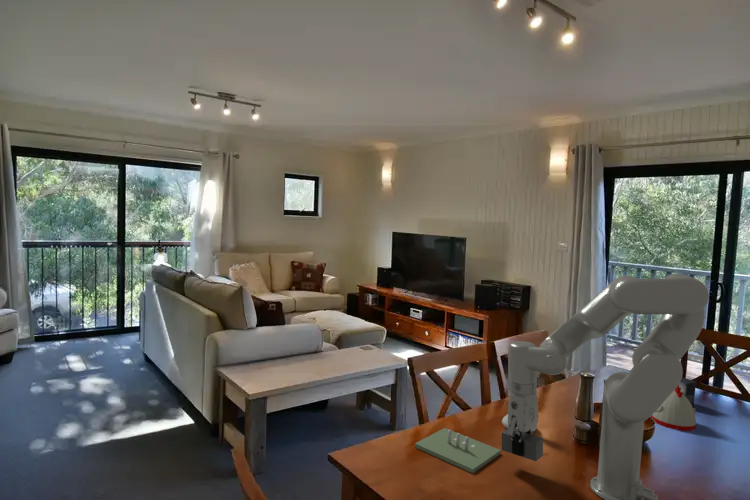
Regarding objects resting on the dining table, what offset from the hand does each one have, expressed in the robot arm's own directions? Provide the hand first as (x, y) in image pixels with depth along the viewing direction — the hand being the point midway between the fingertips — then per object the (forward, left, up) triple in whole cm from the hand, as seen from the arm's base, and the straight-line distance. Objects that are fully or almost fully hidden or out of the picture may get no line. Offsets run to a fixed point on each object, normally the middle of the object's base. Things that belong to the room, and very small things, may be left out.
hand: (522, 450), depth 132 cm
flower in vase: (+12, -26, -6) cm, 30 cm away
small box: (-21, -98, -6) cm, 101 cm away
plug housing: (0, 0, -1) cm, 1 cm away
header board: (+18, +4, -6) cm, 20 cm away
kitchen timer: (-24, -74, -6) cm, 78 cm away
